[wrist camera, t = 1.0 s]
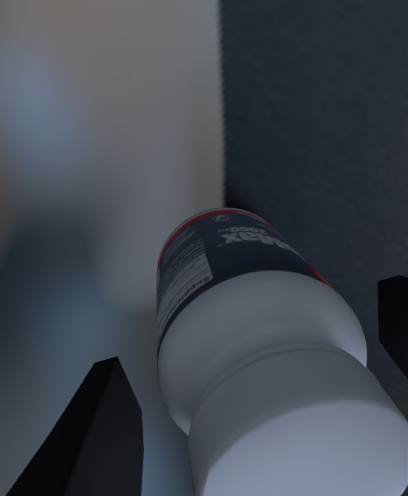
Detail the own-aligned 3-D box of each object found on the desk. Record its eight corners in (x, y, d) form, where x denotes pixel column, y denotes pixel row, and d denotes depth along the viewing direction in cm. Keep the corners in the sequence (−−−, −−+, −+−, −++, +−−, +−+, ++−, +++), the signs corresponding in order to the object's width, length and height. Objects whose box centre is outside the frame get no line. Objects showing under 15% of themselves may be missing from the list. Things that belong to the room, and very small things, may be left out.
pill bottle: (306, 244, 14) (517, 432, 6) (236, 336, 15) (329, 593, 7) (201, 178, 12) (291, 312, 4) (132, 288, 14) (101, 550, 6)
